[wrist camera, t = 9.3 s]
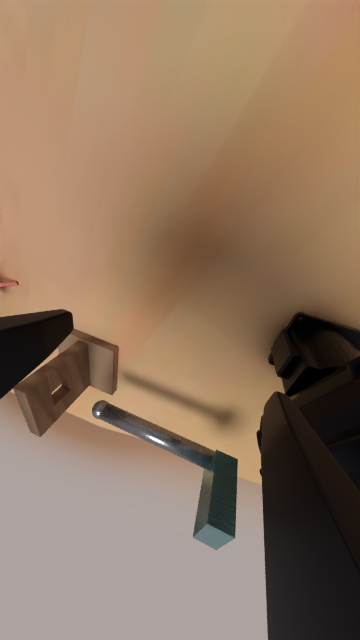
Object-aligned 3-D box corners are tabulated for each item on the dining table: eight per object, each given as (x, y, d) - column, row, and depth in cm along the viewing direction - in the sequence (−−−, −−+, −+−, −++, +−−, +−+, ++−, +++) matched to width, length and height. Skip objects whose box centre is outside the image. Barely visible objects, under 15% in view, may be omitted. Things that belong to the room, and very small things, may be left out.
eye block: (118, 346, 27) (57, 406, 19) (116, 389, 33) (68, 453, 24) (61, 324, 29) (-20, 369, 20) (68, 368, 34) (6, 420, 25)
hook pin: (238, 448, 21) (235, 538, 15) (223, 467, 24) (216, 549, 18) (99, 387, 24) (50, 442, 18) (99, 410, 27) (57, 464, 21)
